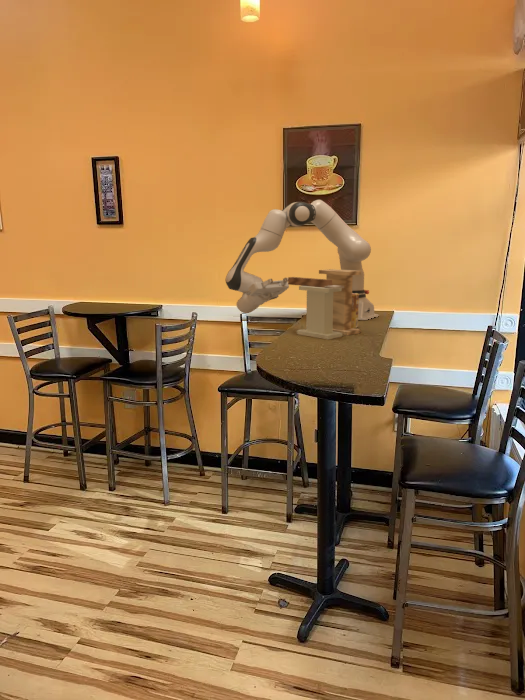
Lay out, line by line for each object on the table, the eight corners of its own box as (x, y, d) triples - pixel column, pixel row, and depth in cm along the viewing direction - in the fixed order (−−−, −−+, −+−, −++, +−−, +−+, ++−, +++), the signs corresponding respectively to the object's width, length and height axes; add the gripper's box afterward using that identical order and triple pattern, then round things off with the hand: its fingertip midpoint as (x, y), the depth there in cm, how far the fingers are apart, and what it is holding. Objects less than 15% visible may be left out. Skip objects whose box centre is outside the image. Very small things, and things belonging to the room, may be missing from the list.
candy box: (358, 327, 238) (359, 293, 235) (355, 329, 234) (356, 294, 231) (339, 326, 242) (340, 292, 239) (336, 327, 238) (337, 293, 235)
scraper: (285, 284, 226) (285, 277, 225) (295, 283, 230) (295, 276, 229) (334, 289, 206) (334, 281, 206) (344, 288, 210) (344, 280, 210)
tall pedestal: (329, 327, 237) (331, 269, 232) (360, 332, 225) (362, 270, 219) (316, 330, 231) (317, 270, 226) (346, 335, 219) (348, 271, 213)
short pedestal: (311, 331, 229) (312, 284, 225) (342, 336, 217) (343, 287, 213) (296, 333, 223) (297, 286, 219) (327, 339, 211) (328, 289, 207)
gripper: (241, 288, 237) (259, 274, 227) (274, 285, 250) (293, 272, 240) (246, 301, 236) (264, 287, 226) (279, 297, 249) (297, 284, 239)
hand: (279, 279), depth 233 cm, fingers open, 8 cm apart
